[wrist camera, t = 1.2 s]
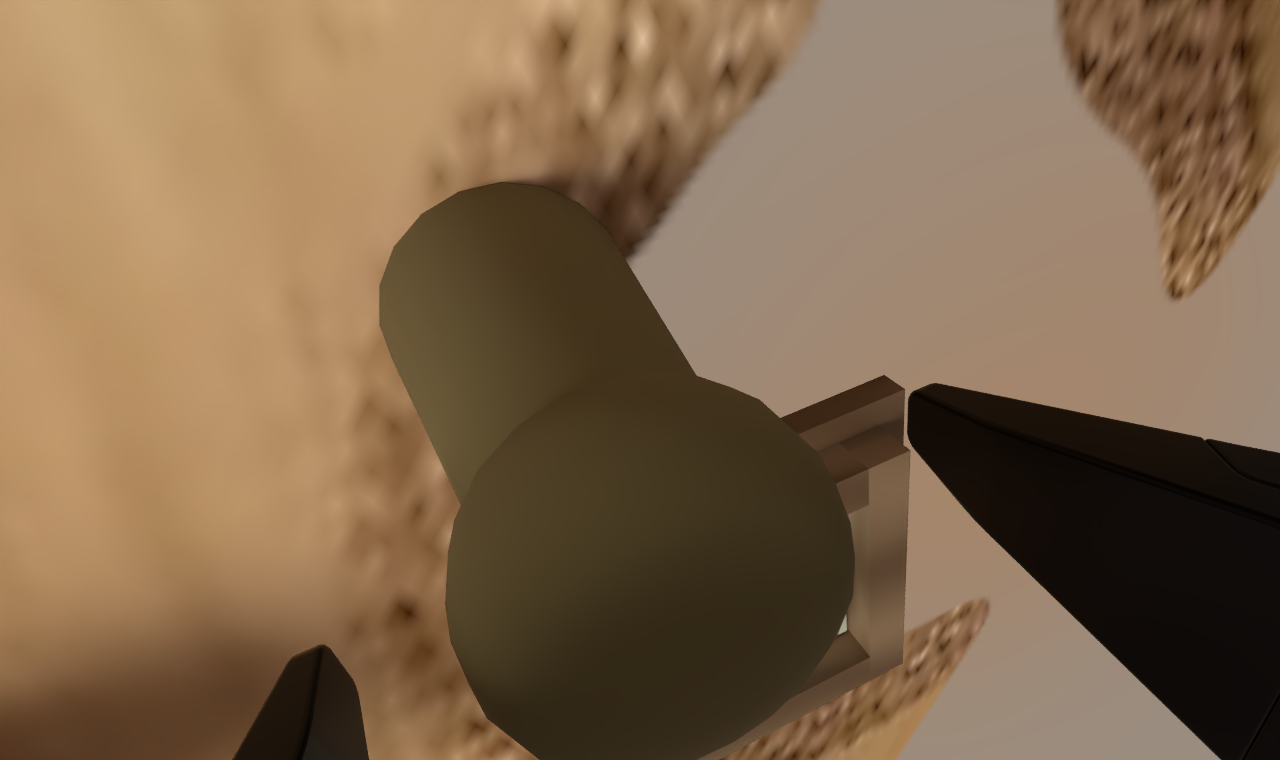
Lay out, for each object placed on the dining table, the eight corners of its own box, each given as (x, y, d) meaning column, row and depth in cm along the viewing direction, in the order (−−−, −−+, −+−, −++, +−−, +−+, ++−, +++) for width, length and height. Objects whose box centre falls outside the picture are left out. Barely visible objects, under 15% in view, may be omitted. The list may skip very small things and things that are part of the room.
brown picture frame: (882, 620, 29) (922, 666, 27) (606, 760, 26) (627, 823, 24) (884, 375, 22) (939, 412, 20) (507, 531, 19) (526, 592, 17)
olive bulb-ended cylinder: (498, 456, 18) (646, 899, 9) (316, 304, 15) (265, 778, 6) (669, 313, 18) (991, 618, 9) (527, 124, 14) (823, 313, 5)
